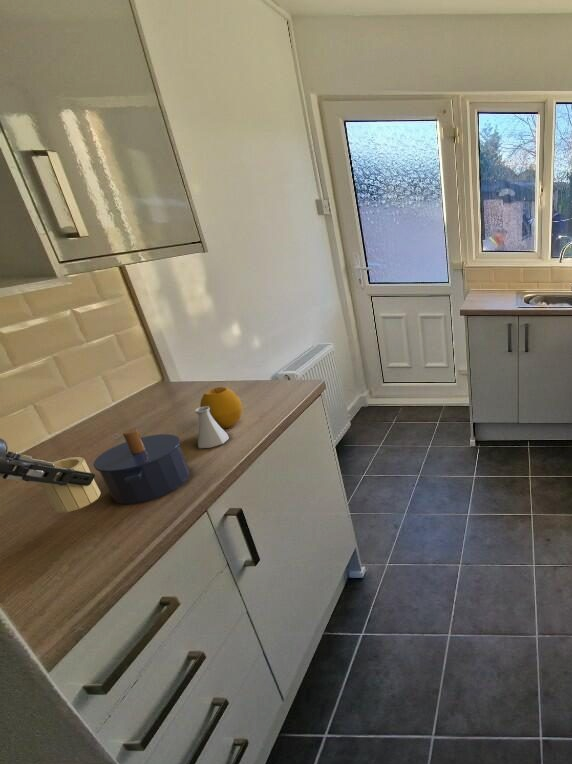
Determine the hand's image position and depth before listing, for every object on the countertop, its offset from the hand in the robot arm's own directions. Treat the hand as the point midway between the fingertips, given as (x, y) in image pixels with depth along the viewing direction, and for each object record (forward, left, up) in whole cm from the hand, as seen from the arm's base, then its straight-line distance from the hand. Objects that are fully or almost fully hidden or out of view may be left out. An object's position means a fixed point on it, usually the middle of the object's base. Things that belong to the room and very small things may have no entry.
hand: (79, 476), depth 75 cm
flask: (+16, +30, -14) cm, 37 cm away
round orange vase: (+19, +39, -14) cm, 45 cm away
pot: (+5, +15, -13) cm, 21 cm away
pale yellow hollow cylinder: (-1, -1, -4) cm, 5 cm away
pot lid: (+5, +15, -5) cm, 16 cm away
